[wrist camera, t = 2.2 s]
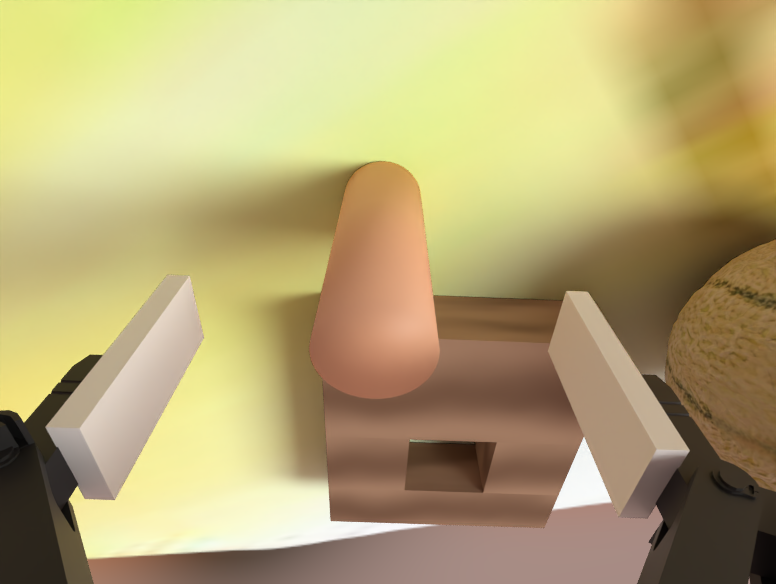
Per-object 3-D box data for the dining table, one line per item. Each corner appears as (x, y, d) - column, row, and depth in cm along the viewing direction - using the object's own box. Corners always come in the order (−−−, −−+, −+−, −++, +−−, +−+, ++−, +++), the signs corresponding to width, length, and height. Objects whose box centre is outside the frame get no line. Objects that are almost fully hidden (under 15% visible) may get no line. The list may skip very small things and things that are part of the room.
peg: (343, 159, 23) (305, 298, 13) (423, 163, 23) (446, 303, 13) (344, 231, 25) (312, 396, 15) (417, 234, 25) (433, 400, 15)
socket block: (328, 291, 27) (319, 334, 24) (595, 301, 28) (623, 345, 24) (336, 473, 37) (330, 521, 34) (530, 479, 38) (544, 527, 34)
